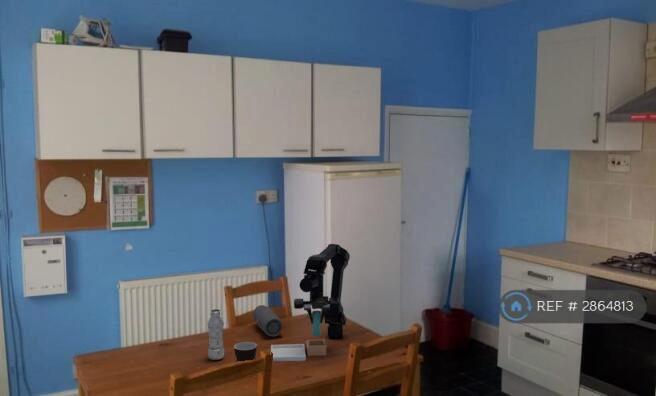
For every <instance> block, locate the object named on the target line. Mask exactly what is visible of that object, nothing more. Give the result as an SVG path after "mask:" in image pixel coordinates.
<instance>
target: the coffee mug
mask: <svg viewBox="0 0 656 396" xmlns="http://www.w3.org/2000/svg"><path fill="white" fill-rule="evenodd" d="M257 347H258V345H257V343H255V342H253V341H243V342H238V343H235V344H234V346H233V349H234V350H233V351H234V358H235V363H236V362H237V361H245V360H253V359H255V360H256V357H257V356H256V355H257Z"/></svg>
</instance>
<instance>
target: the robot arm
mask: <svg viewBox="0 0 656 396" xmlns="http://www.w3.org/2000/svg"><path fill="white" fill-rule="evenodd" d="M350 257H351V255H350V253H349V251H348V250H347V249H346V248H344V247H342V246H341V244H338V243H336V244H335V243H329V244H328V245H327V246H326V247H325V248H324V249H323V250H322V251H321V252H319V253H318V254H313V255H311V256H309V257H308V259H307V261H306V264H305V266H304V267H305V268H304V270H303V278H302V279H301V280H300V282H299V288H300V290H301V291H302V292H303V293H309V300H304V298H295V299H293V308H294V309H295V310H297V309H298V310H299V309H303V310H304V311H306V312H307V314H308V316H309V320H310V323H311V325H312V324H313V320H312V312H313V311H312V310H318V309H319V310H320V311H321V324H323V321H324V324H325V325H326V324H327V327H326V335H327V337H328V339H329V340H337V339H338V340H342V339H344V336H343V335H344V334H343V333H344V327H343V326H346V324H347V316H346V315H345V313H344V307H343V305H342V303H341V302H342V301H341V300H342V291H343V280H344V270H345V269H346V268H347V266H349V261H350ZM329 261H330V265H331V267H332V278H331V289H330V297H329V296H327V295H326V296H325V295H324V281H325V280H324V275H325V274H326V272H325V271H326V268H327V267H328V262H329Z"/></svg>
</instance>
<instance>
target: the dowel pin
mask: <svg viewBox="0 0 656 396" xmlns="http://www.w3.org/2000/svg"><path fill="white" fill-rule="evenodd" d="M311 312H312V320H313V324H312V323H311V325H312V326H311V328H312V329H311V330H312V332H311V333H312V337H315V338H316V337H320V336H321V334H322V333H321V332H322V331H321V330H322V329H321V327H322V326H321V324H322V323H321V310H312V311H311Z"/></svg>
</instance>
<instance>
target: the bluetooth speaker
mask: <svg viewBox="0 0 656 396" xmlns="http://www.w3.org/2000/svg"><path fill="white" fill-rule="evenodd" d="M252 316H253V319H254V321H255V323H256V324H257V325H258V327H259V328H260V329H261V330H262V331H263V332H264V333H265V335H267V336H269V337H272V338H273V337H277V336H279V335H280V334H281V332H282V331H283V328H284V327H283V322H282V321H281V319H280V318H279V316H278V315H277V314H276V313H275V312H274V311H273V310H272V309H271V308H269V307H268V306H266V305H264V304H263V305H262V304H261V305H258V306H256V307H255V308H254V310H253V313H252Z"/></svg>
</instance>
